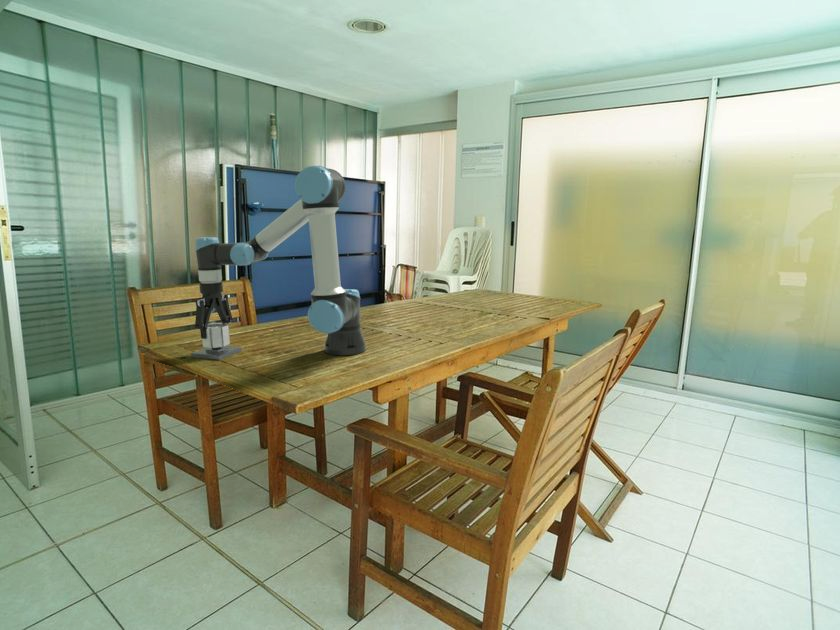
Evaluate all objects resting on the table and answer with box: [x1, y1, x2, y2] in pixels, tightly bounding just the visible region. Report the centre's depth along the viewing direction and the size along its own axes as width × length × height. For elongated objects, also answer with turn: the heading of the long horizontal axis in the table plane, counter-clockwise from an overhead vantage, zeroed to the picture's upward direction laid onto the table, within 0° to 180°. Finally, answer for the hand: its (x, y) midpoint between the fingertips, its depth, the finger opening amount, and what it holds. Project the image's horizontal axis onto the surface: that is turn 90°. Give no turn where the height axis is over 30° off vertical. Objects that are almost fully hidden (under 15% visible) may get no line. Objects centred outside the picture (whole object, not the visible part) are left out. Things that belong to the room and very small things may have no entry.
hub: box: [203, 322, 231, 348], centre depth 178 cm, size 9×9×7 cm
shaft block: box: [190, 345, 243, 361], centre depth 178 cm, size 12×12×8 cm
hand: (216, 343), depth 178 cm, fingers closed on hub, 9 cm apart
